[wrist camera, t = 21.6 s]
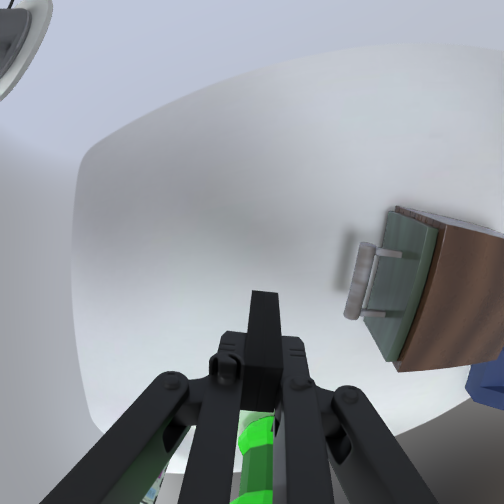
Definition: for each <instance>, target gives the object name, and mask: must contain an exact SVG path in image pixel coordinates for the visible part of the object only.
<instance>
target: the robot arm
mask: <svg viewBox="0 0 504 504" xmlns="http://www.w3.org/2000/svg"><path fill="white" fill-rule="evenodd" d="M13 2H14V0H11V2H10V4H9V6H8V8H7V9H0V79H1V78H2V77H3V76H4V74H5V73H6V72H7V71H8V69H9V68H10V67H11V65H12V64H13V62H14V61H15V59H16V57H17V56H18V54H19V52H20V50H21V48H22V46H23V44H24V42H25V40H26V38H27V36H28V33H29V30H30V27H31V23H32V14H31V12H30V11H28V10H26V9H24V8H15V9H11V7H12V4H13ZM274 408H275V416H274V420H273V424H272V428H271V432H273V497H272V504H334V496H333V488H332V481H331V474H330V468H329V461H330V463H331V465H332V468H333V470H334V472H335V474H336V476H337V478H338V480H339V482H340V484H341V487H342V489H343V491H344V493H345V495H346V497H347V499H348V501H349V503H350V504H439V503H438V501H437V500H436V498H435V497H434V495H433V494H432V492H431V491H430V489H429V488H428V487H427V485H426V483H425V482H424V480H423V479H422V477H421V476H420V474H419V473H418V471H417V470H416V468H415V467H414V465H413V464H412V462H411V461H410V460H409V458H408V457H407V455H406V454H405V452H404V451H403V449H402V448H401V446H400V445H399V443H398V442H397V441H396V439H395V437H394V436H393V434H392V433H391V432H390V430H389V429H388V427H387V426H386V424H385V423H384V421H383V420H382V418H381V417H380V415H379V414H378V413H377V411H376V410H375V408H374V407H373V405H372V404H371V402H370V401H369V400H368V398H367V397H366V395H365V394H364V393H363V392H362V391H361V390H360V389H359V388H357V387H354V386H350V385H346V386H341V387H338V388H337V389H336V390H335V392H334V391H330V390H325V389H322V388H320V387H318V386H316V384H315V382H314V380H313V379H312V378H310V375H309V369H308V364H307V358H306V353H305V347H304V343H303V342H302V340H301V339H300V338H299V337H293V336H281V323H280V310H279V298H278V293H274V292H264V291H255V290H252V296H251V304H250V313H249V322H248V331H247V333H242V332H233V331H226V332H225V333H224V334H223V335H222V336H221V340H220V344H219V348H218V352H217V353H216V354H215V355H213V356H212V357H211V358H210V360H209V375H208V376H206V377H204V378H201V379H192V380H188V378H187V377H186V376H185V375H183V374H182V373H180V372H175V371H167V372H164V373H161V374H160V375H158V376H157V377H156V378H155V379H154V380H153V382H152V383H151V384H150V385H149V386H148V387H147V388H146V389H145V390H144V392H143V393H142V394H141V395H140V396H139V397H138V398H137V399H136V400H135V401H134V403H133V404H132V405H131V406H130V407H129V408H128V409H127V410H126V411H125V412H124V413H123V415H122V416H121V417H120V418H119V419H118V420H117V421H116V422H115V423H114V424H113V426H112V427H111V428H110V429H109V430H108V431H107V432H106V433H105V434H104V435H103V436H102V437H101V439H100V440H99V441H98V442H97V443H96V444H95V445H94V446H93V447H92V448H91V449H90V450H89V452H88V453H87V454H86V455H85V456H84V457H83V458H82V459H81V460H80V461H79V462H78V463H77V464H76V466H74V468H73V469H72V470H71V471H70V472H69V473H68V474H67V475H66V476H65V477H64V478H63V479H62V480H61V481H60V482H59V483H58V484H57V486H56V487H55V488H54V489H53V490H52V491H51V492H50V493H49V494H48V495H47V496H46V497H45V498H44V499H43V500H42V501H41V502H40V503H39V504H140V502H141V501H142V500H143V498H144V497H145V495H146V494H147V493H148V491H149V490H150V488H151V487H152V485H153V484H154V482H155V481H156V479H157V478H158V477H159V475H160V474H161V472H162V471H163V469H164V468H165V466H166V465H167V463H168V462H169V460H170V459H171V457H172V456H173V454H174V453H175V451H176V450H177V448H178V446H179V445H180V443H181V442H182V440H183V439H184V437H185V436H186V434H187V433H188V431H189V429H190V428H191V426H194V425H196V429H195V434H194V438H193V442H192V446H191V450H190V454H189V458H188V462H187V466H186V470H185V474H184V478H183V483H182V487H181V491H180V495H179V499H178V504H229V503H230V493H231V485H232V476H233V467H234V458H235V449H236V440H237V431H238V422H239V413H240V410H247V411H258V412H272V413H273V412H274ZM328 459H329V460H328Z"/></svg>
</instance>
